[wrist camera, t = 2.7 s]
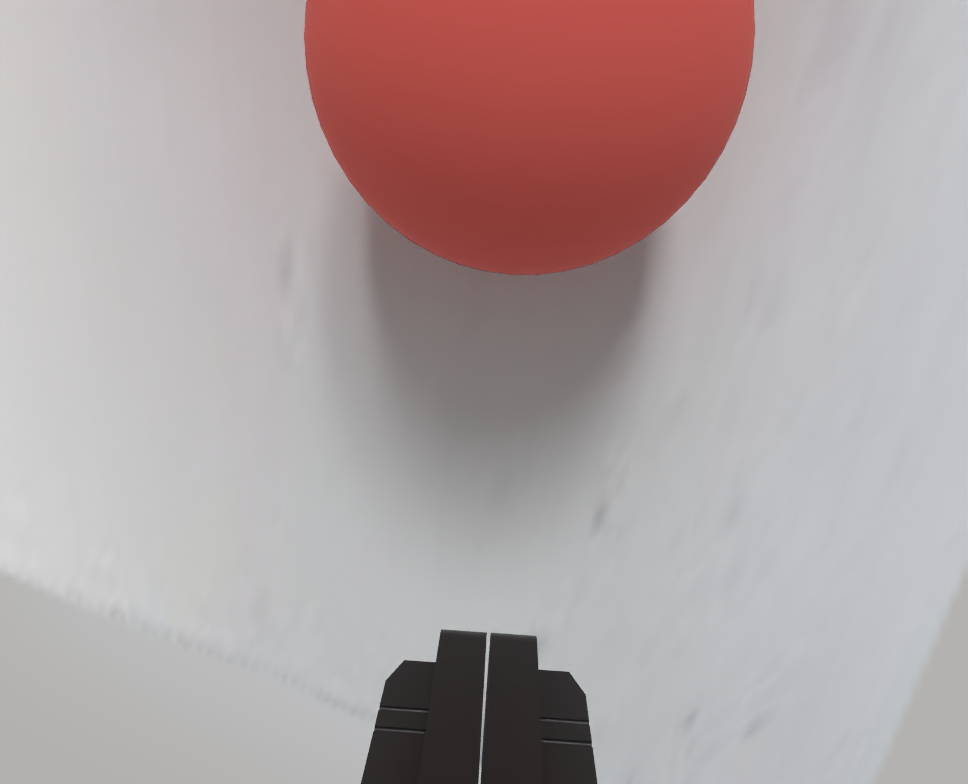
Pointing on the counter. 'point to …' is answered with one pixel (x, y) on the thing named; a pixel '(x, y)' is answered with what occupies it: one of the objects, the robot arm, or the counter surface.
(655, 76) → the ball
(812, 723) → the counter surface
